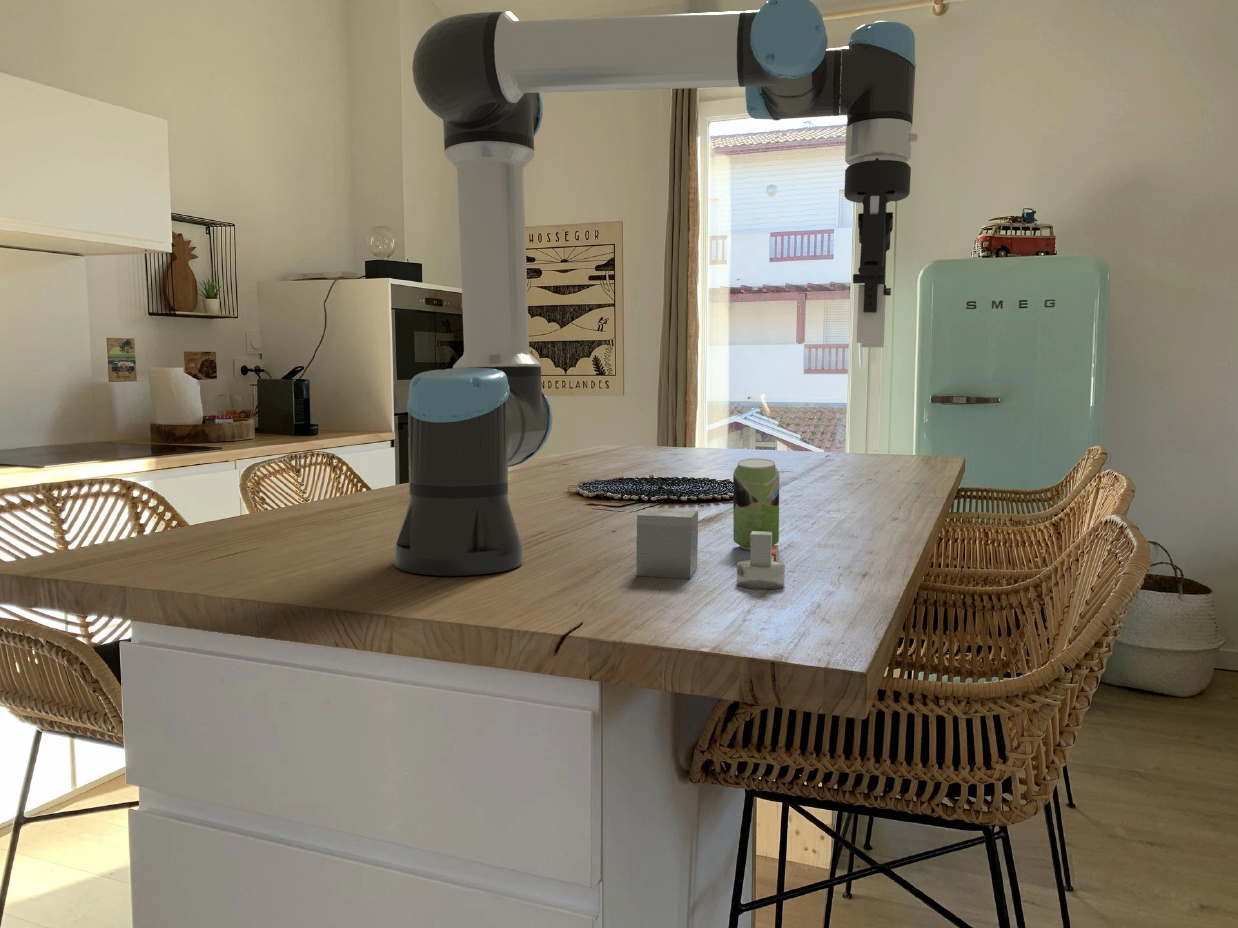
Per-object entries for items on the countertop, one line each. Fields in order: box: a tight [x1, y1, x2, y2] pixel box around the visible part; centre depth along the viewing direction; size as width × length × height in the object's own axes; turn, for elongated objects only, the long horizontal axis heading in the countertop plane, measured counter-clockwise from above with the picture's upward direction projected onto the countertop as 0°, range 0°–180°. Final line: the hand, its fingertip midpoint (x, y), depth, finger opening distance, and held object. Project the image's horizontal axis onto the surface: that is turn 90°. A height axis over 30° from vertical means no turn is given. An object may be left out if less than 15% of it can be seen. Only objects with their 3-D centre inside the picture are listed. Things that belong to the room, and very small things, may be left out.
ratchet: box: [736, 531, 786, 591], centre depth 108 cm, size 5×17×6 cm, turn 168°
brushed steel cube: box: [635, 507, 699, 580], centre depth 108 cm, size 6×6×7 cm
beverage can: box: [732, 458, 780, 551], centre depth 123 cm, size 6×7×12 cm
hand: (870, 345), depth 112 cm, fingers open, 13 cm apart
